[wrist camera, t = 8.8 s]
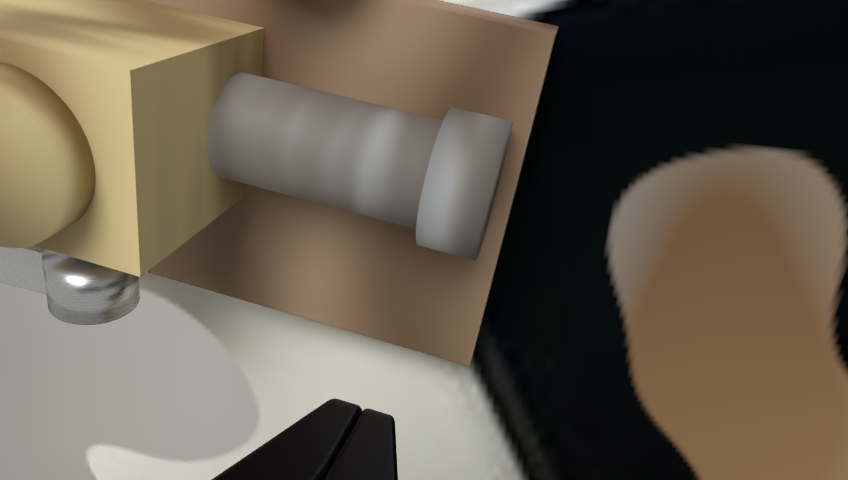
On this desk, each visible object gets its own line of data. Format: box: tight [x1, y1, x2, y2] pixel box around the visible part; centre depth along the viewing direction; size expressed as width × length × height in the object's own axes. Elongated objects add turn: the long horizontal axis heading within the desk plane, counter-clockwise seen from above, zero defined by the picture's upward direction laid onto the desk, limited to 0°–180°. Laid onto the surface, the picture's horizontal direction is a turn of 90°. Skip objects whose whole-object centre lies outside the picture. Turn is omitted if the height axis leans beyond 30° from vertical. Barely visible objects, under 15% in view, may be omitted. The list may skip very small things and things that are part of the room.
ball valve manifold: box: [0, 0, 559, 366], centre depth 18 cm, size 16×11×8 cm
